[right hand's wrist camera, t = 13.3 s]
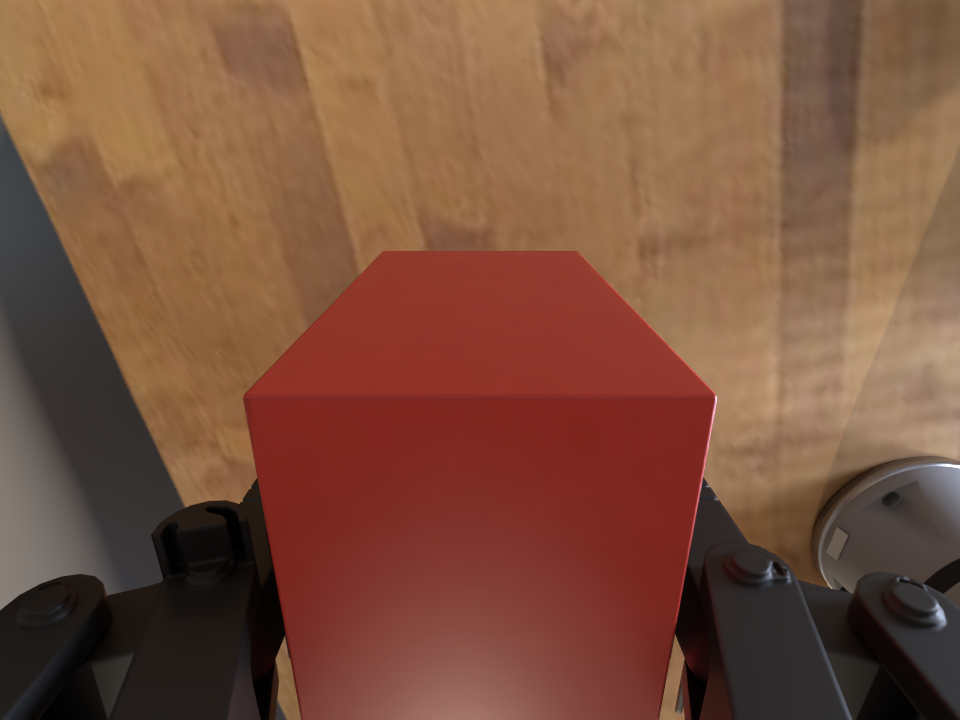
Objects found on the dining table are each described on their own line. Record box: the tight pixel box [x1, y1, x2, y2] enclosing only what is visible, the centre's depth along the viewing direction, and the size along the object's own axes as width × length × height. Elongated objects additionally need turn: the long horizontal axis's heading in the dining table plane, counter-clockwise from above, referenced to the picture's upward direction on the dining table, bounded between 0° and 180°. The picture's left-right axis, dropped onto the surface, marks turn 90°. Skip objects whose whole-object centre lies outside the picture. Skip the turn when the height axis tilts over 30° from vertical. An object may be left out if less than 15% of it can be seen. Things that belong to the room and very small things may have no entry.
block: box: [243, 251, 717, 720], centre depth 11 cm, size 5×9×9 cm, turn 0°
